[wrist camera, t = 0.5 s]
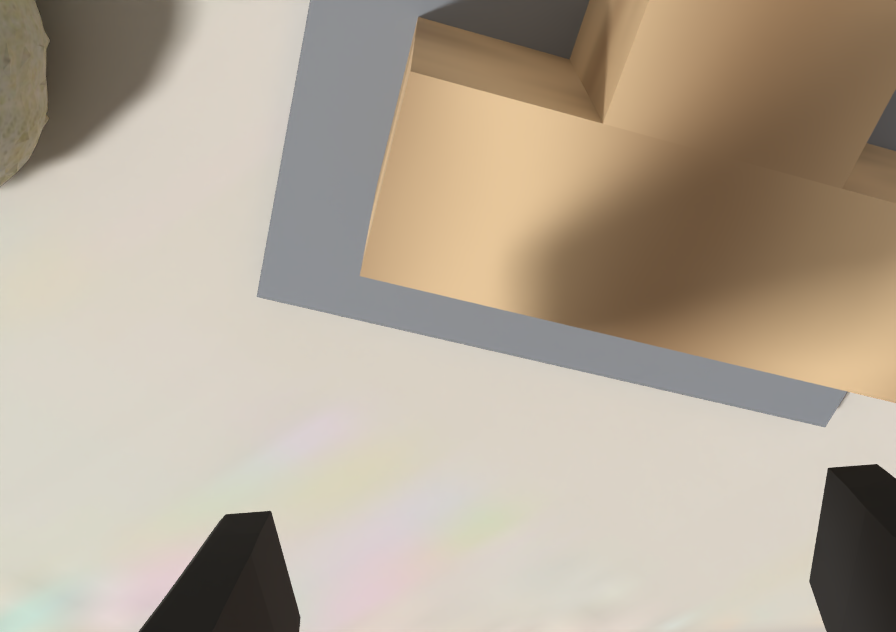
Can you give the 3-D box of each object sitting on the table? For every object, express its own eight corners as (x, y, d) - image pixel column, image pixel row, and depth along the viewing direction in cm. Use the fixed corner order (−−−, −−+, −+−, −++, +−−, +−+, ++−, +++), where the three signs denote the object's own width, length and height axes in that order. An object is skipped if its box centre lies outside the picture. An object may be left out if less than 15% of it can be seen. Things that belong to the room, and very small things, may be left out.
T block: (1044, -115, 15) (1227, -97, 11) (813, 296, 19) (895, 403, 15) (495, -300, 13) (512, -344, 10) (376, 186, 18) (359, 276, 14)
